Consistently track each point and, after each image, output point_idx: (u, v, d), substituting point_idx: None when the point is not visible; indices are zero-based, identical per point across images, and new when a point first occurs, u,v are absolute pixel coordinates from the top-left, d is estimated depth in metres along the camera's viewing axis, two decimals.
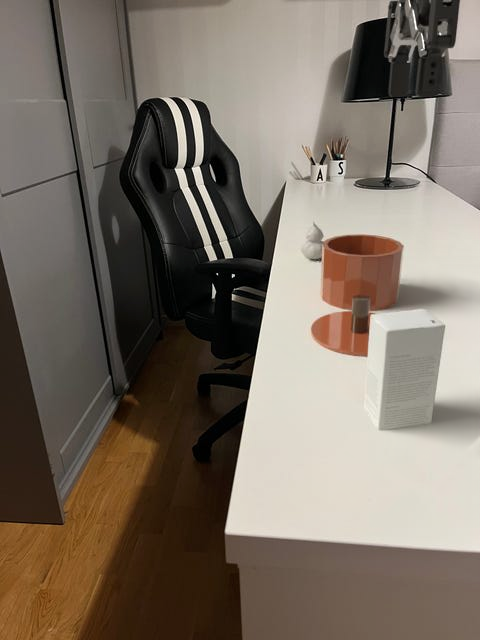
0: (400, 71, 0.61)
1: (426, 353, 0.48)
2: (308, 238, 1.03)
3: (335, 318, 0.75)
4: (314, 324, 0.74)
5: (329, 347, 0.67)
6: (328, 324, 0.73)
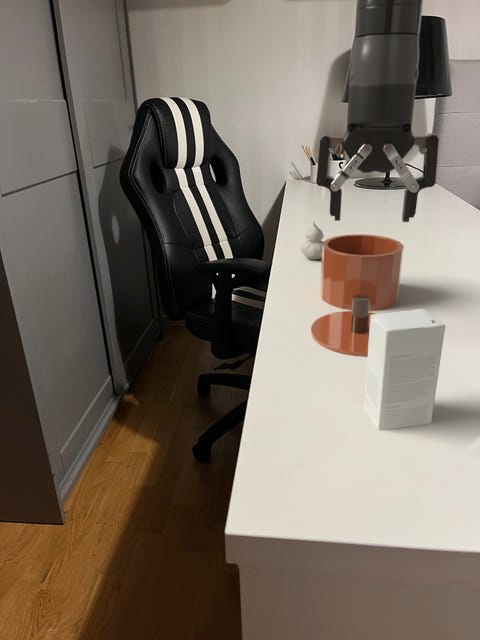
0: None
1: (426, 353, 0.48)
2: (308, 238, 1.03)
3: (335, 318, 0.75)
4: (314, 324, 0.74)
5: (329, 347, 0.67)
6: (328, 324, 0.73)
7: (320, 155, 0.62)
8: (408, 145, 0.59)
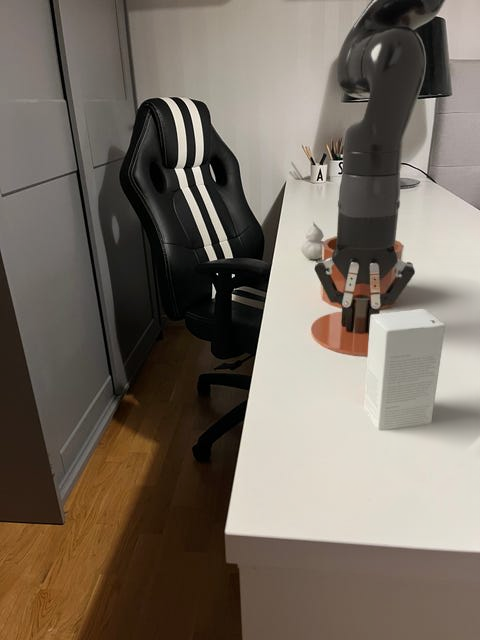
0: None
1: (426, 353, 0.48)
2: (308, 238, 1.03)
3: (335, 318, 0.75)
4: (314, 324, 0.74)
5: (329, 347, 0.67)
6: (328, 324, 0.73)
7: (321, 280, 0.68)
8: (392, 263, 0.65)
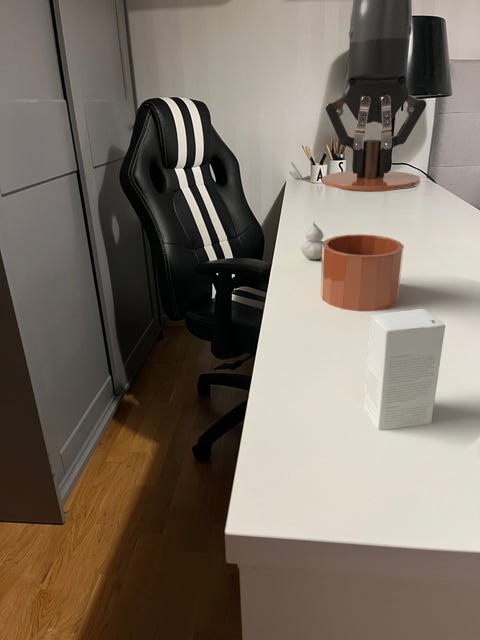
0: None
1: (426, 353, 0.48)
2: (308, 238, 1.03)
3: (345, 173, 0.75)
4: (324, 176, 0.73)
5: (341, 186, 0.67)
6: (338, 176, 0.73)
7: (332, 121, 0.68)
8: (403, 96, 0.65)
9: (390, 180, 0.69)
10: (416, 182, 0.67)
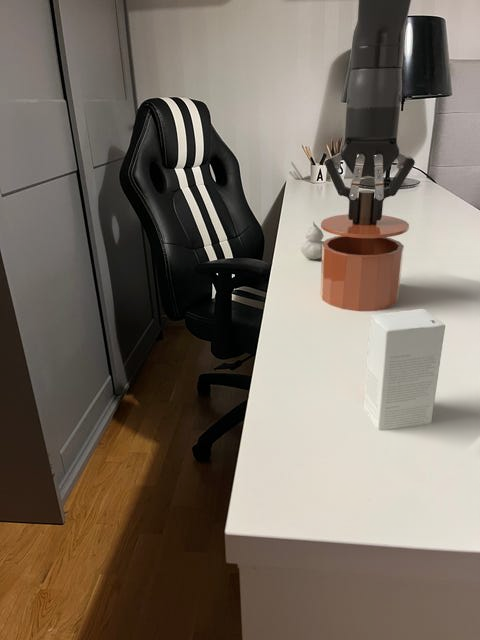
0: None
1: (426, 353, 0.48)
2: (308, 238, 1.03)
3: (342, 217, 0.83)
4: (323, 221, 0.81)
5: (338, 233, 0.75)
6: (336, 221, 0.81)
7: (331, 174, 0.76)
8: (394, 155, 0.73)
9: (382, 227, 0.77)
10: (405, 230, 0.75)
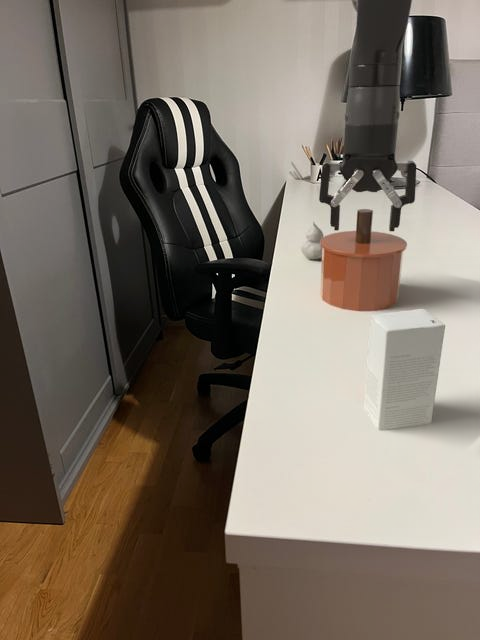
0: None
1: (426, 353, 0.48)
2: (308, 238, 1.03)
3: (341, 235, 0.84)
4: (323, 238, 0.83)
5: (337, 252, 0.76)
6: (335, 239, 0.82)
7: (322, 178, 0.77)
8: (392, 170, 0.74)
9: (380, 246, 0.78)
10: (403, 249, 0.77)
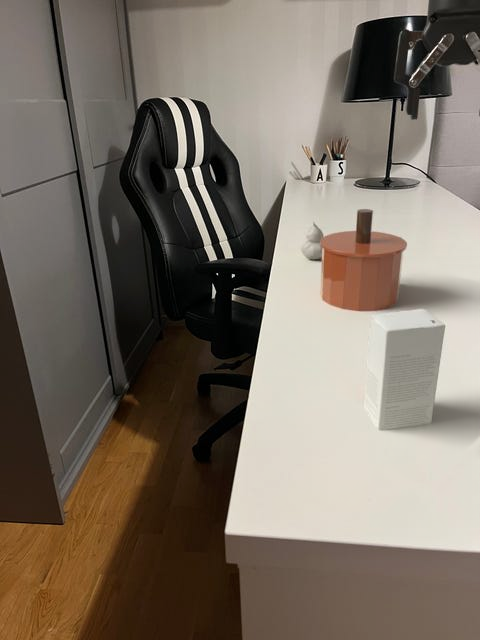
0: None
1: (426, 353, 0.48)
2: (308, 238, 1.03)
3: (341, 235, 0.84)
4: (323, 238, 0.83)
5: (337, 252, 0.76)
6: (335, 239, 0.82)
7: (400, 50, 0.62)
8: None
9: (380, 246, 0.78)
10: (403, 249, 0.77)
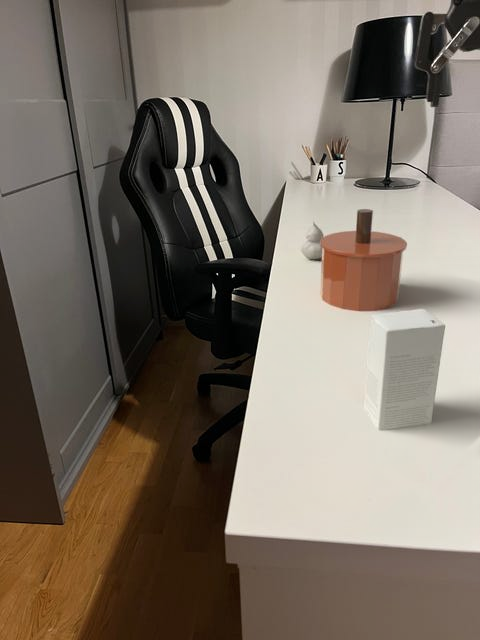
0: None
1: (426, 353, 0.48)
2: (308, 238, 1.03)
3: (341, 235, 0.84)
4: (323, 238, 0.83)
5: (337, 252, 0.76)
6: (335, 239, 0.82)
7: (422, 33, 0.60)
8: None
9: (380, 246, 0.78)
10: (403, 249, 0.77)
